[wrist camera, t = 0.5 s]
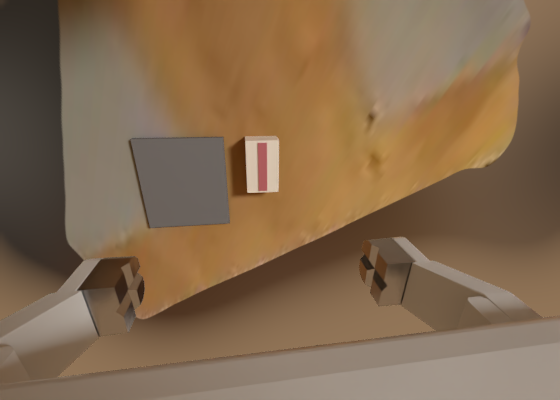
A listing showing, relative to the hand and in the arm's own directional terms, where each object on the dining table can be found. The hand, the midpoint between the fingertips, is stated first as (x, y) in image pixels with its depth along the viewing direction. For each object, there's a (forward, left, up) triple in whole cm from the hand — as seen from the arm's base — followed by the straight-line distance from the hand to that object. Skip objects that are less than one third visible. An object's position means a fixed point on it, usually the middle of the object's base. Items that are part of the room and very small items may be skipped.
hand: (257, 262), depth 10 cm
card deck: (+9, +3, -44) cm, 45 cm away
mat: (+13, -12, -43) cm, 47 cm away
